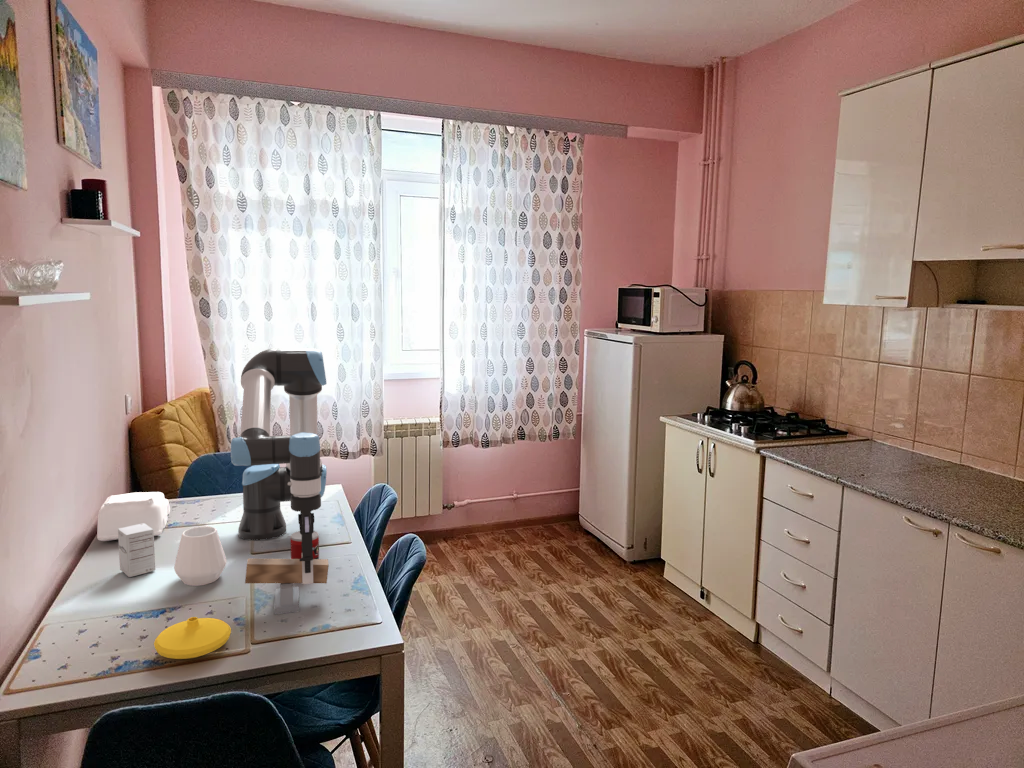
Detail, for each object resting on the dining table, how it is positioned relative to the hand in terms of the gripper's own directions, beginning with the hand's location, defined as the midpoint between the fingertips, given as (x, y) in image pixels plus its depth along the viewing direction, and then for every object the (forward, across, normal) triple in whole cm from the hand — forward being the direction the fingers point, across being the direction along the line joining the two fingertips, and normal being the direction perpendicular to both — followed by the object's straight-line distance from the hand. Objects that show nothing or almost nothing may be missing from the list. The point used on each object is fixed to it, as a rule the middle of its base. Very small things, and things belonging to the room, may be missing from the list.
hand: (307, 579), depth 174 cm
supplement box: (+6, -33, -46) cm, 57 cm away
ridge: (+6, 0, -5) cm, 8 cm away
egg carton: (+6, -74, -54) cm, 92 cm away
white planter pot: (+6, -22, -28) cm, 36 cm away
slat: (0, 0, -5) cm, 5 cm away
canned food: (+6, -20, 0) cm, 21 cm away
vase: (+6, +18, -25) cm, 32 cm away
